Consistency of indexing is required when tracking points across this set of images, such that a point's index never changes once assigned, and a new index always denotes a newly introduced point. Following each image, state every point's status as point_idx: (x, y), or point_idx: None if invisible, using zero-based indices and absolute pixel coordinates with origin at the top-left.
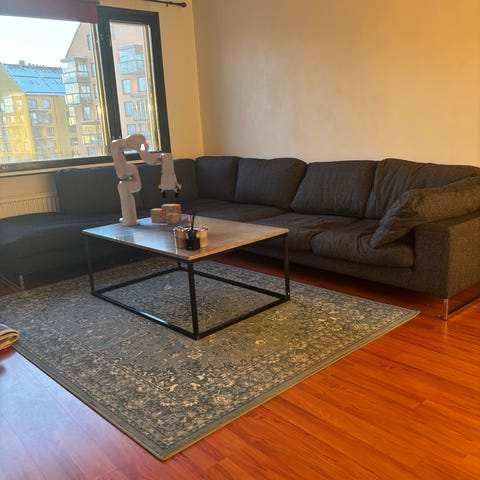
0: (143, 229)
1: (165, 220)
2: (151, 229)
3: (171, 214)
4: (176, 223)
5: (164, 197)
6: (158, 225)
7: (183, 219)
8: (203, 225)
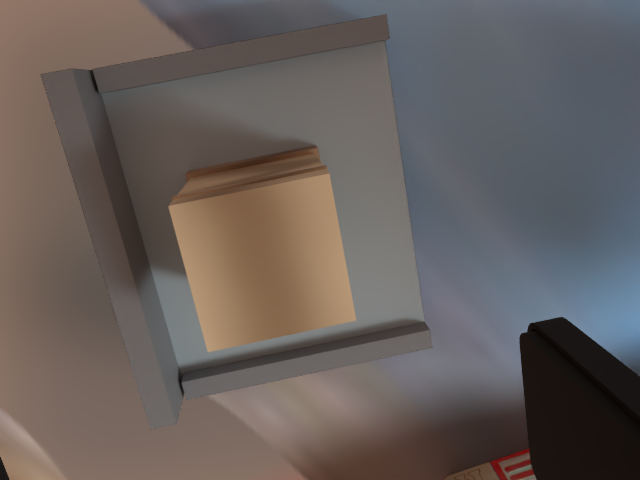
0: (622, 4)
1: None
2: (509, 40)
3: (231, 207)
4: (52, 88)
5: (534, 391)
6: (376, 16)
7: (124, 317)
8: (3, 445)
